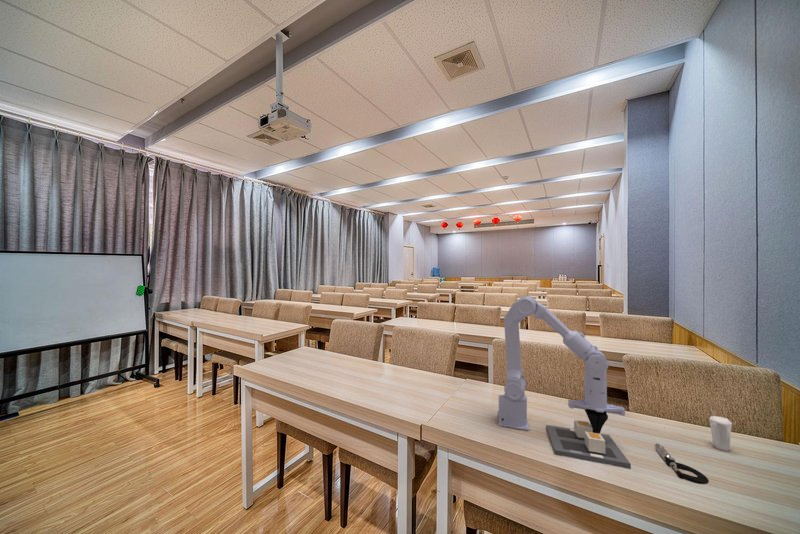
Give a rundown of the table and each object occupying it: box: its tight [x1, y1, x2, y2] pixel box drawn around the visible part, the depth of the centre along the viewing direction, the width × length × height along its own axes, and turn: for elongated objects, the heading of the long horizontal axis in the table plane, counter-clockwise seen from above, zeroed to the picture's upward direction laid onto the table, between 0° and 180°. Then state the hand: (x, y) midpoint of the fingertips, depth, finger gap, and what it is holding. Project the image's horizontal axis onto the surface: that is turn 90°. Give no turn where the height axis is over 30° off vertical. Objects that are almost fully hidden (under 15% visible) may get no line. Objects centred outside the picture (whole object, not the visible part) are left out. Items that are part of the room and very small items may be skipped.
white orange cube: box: [585, 431, 606, 454], centre depth 82 cm, size 4×4×4 cm
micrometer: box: [654, 443, 710, 485], centre depth 78 cm, size 15×7×3 cm, turn 156°
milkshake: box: [709, 409, 733, 452], centre depth 87 cm, size 5×5×10 cm
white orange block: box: [573, 419, 593, 439], centre depth 89 cm, size 4×4×4 cm
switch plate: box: [545, 424, 632, 469], centre depth 86 cm, size 18×15×1 cm
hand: (595, 434), depth 88 cm, fingers closed
